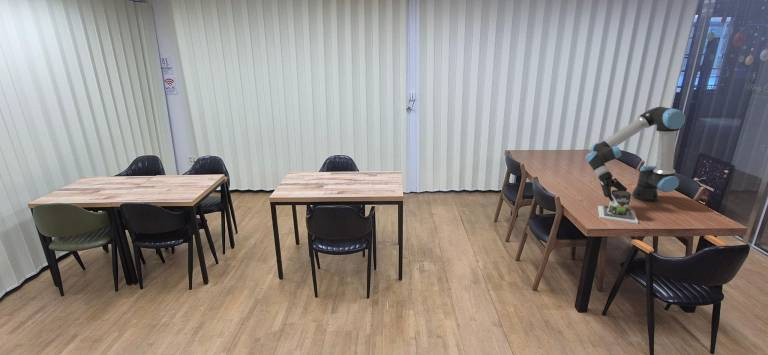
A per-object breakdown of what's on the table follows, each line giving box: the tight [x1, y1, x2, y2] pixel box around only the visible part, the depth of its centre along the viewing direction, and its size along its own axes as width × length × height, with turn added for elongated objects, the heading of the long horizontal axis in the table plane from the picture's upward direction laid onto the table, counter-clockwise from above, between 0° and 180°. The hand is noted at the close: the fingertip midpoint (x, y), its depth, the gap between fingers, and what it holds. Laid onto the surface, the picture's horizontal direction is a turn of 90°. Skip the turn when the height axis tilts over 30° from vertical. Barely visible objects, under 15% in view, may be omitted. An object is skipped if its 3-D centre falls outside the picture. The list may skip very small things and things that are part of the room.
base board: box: [597, 205, 639, 225], centre depth 227 cm, size 20×20×2 cm
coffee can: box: [608, 189, 632, 216], centre depth 225 cm, size 10×10×14 cm
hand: (623, 203), depth 223 cm, fingers open, 13 cm apart
